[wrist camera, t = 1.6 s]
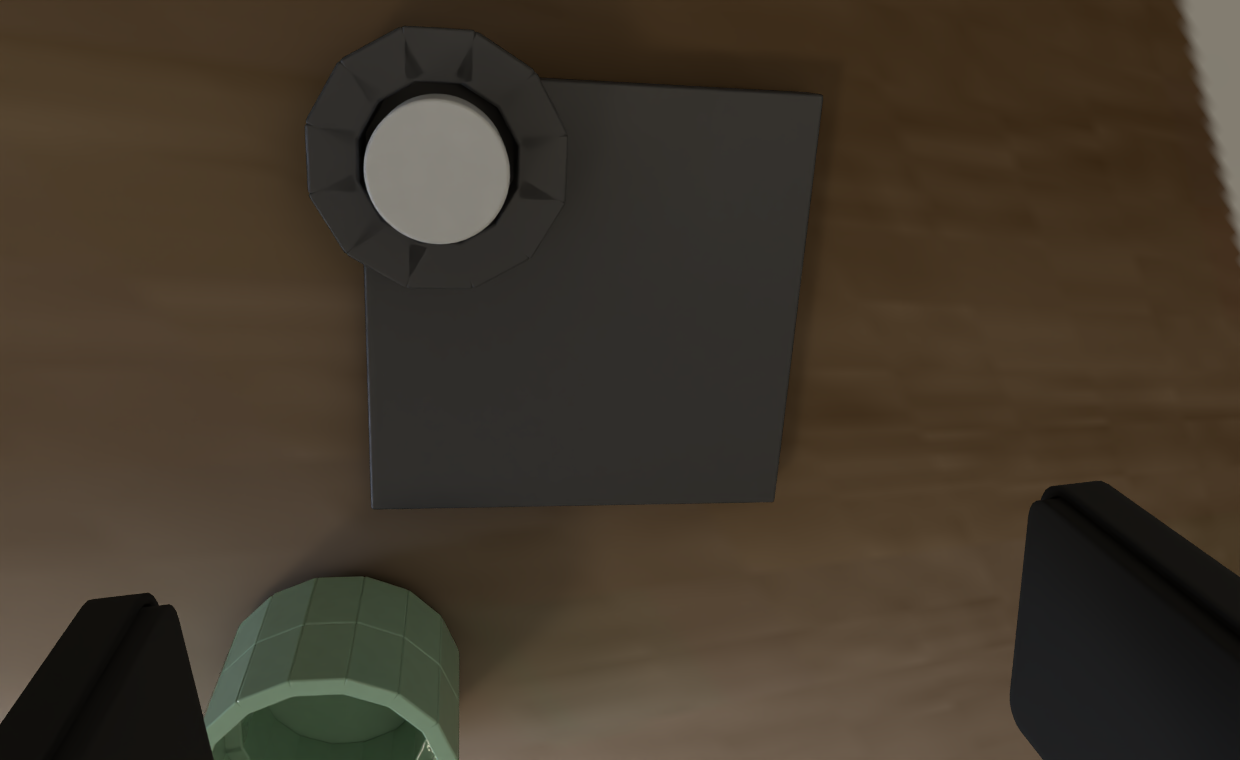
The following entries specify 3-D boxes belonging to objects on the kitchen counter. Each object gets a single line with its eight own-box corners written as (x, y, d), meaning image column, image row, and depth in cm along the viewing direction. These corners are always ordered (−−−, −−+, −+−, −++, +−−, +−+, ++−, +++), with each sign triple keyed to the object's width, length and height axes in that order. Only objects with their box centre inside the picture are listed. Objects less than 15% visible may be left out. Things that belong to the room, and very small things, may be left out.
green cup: (238, 761, 31) (193, 905, 26) (221, 570, 29) (168, 686, 23) (459, 748, 32) (458, 884, 27) (459, 564, 30) (459, 673, 25)
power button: (373, 226, 23) (365, 243, 21) (369, 89, 22) (360, 94, 20) (505, 230, 24) (509, 247, 22) (507, 96, 23) (512, 102, 21)
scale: (338, 492, 28) (324, 542, 25) (317, 21, 24) (298, 18, 21) (763, 485, 30) (793, 531, 28) (813, 52, 26) (856, 53, 23)
